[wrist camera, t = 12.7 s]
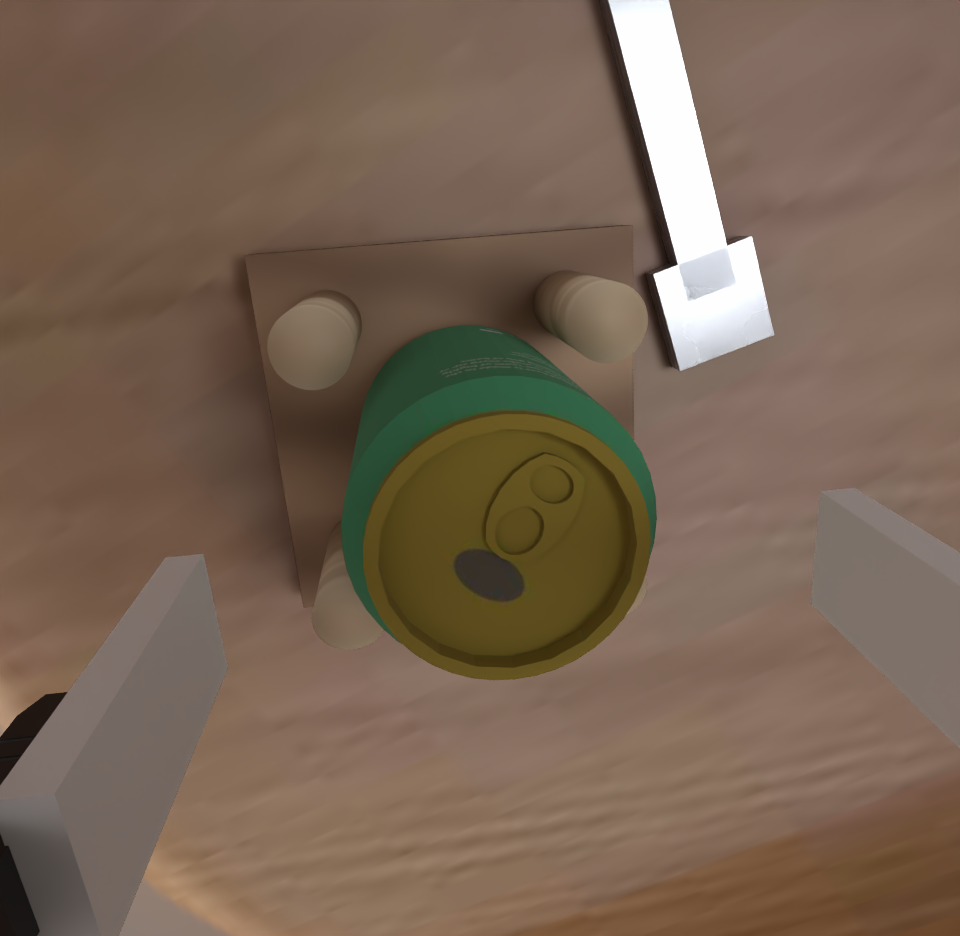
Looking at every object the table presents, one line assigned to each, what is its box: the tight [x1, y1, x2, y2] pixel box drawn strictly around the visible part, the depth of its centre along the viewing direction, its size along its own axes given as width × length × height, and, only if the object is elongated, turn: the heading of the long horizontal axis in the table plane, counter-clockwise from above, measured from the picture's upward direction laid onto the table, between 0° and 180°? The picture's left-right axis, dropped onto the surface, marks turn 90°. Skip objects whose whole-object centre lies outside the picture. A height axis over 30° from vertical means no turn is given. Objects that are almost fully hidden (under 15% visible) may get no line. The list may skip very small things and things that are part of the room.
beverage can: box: [341, 325, 657, 680], centre depth 23 cm, size 8×8×12 cm
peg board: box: [244, 225, 648, 650], centre depth 26 cm, size 14×14×8 cm
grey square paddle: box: [599, 0, 774, 371], centre depth 27 cm, size 14×4×1 cm, turn 20°
